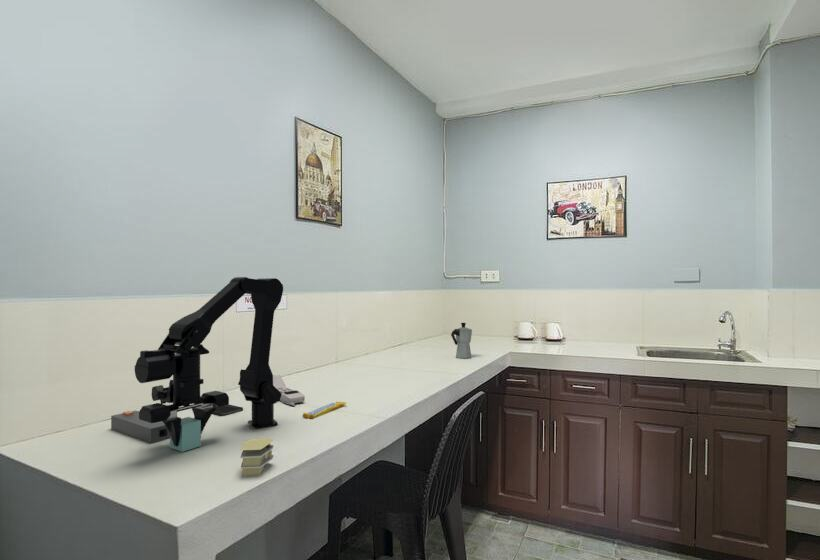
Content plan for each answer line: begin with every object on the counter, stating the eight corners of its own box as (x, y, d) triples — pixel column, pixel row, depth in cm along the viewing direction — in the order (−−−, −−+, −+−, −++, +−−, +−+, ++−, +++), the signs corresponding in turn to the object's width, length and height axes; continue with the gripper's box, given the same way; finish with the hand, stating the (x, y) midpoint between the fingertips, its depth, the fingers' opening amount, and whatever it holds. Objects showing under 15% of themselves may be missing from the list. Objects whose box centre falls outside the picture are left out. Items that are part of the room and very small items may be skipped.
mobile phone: (279, 374, 164) (308, 386, 144) (279, 390, 164) (308, 404, 144) (262, 376, 161) (290, 389, 141) (263, 393, 161) (290, 408, 141)
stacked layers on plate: (273, 480, 89) (273, 452, 89) (226, 482, 88) (226, 453, 88) (283, 460, 99) (283, 435, 99) (241, 462, 98) (241, 436, 98)
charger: (200, 446, 107) (200, 420, 107) (182, 451, 103) (182, 425, 103) (182, 439, 111) (182, 415, 111) (163, 445, 107) (164, 419, 107)
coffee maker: (465, 355, 243) (465, 321, 243) (478, 357, 236) (478, 322, 237) (445, 358, 234) (445, 323, 234) (458, 360, 227) (457, 324, 227)
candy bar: (311, 421, 128) (311, 414, 128) (300, 419, 130) (300, 413, 130) (347, 407, 142) (347, 401, 142) (336, 405, 144) (336, 399, 144)
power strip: (175, 436, 114) (175, 420, 114) (150, 443, 109) (150, 426, 109) (135, 423, 125) (135, 408, 125) (111, 429, 120) (111, 413, 120)
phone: (222, 414, 131) (191, 406, 139) (221, 417, 131) (191, 410, 139) (245, 407, 138) (214, 401, 146) (245, 411, 138) (214, 404, 146)
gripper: (204, 365, 118) (203, 426, 118) (126, 378, 103) (126, 448, 102) (230, 370, 112) (230, 434, 112) (152, 384, 96) (152, 458, 96)
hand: (186, 442), depth 106 cm, fingers closed on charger, 4 cm apart
